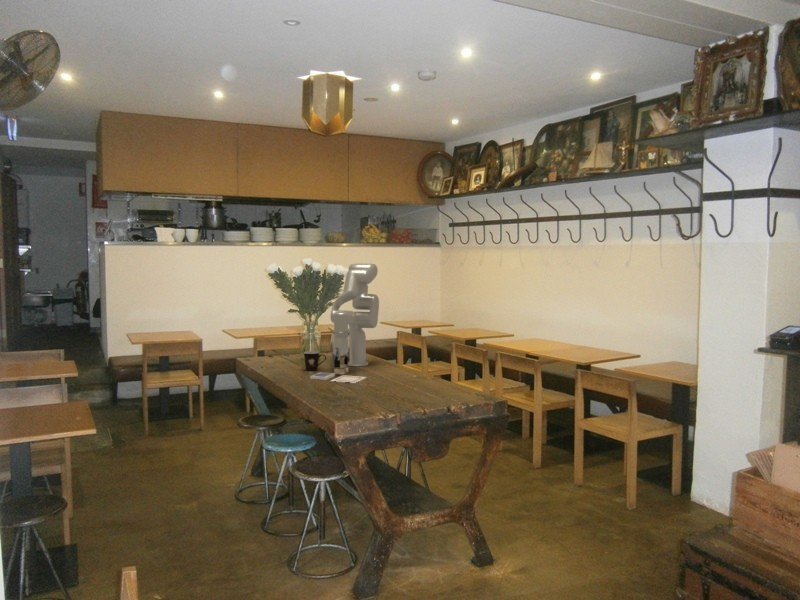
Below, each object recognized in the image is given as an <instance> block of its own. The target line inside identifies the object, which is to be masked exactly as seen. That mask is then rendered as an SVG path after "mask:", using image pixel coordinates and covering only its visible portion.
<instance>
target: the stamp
mask: <svg viewBox="0 0 800 600" xmlns="http://www.w3.org/2000/svg"><path fill="white" fill-rule="evenodd" d="M337 357H338V356H337ZM344 359H345V355H343V356H340V359H339V360H340V367H335V368H334V370H333V371H334V372H333V373H334V374H335V376H342V375H347V374H349V367H345V364H344Z"/></svg>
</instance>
